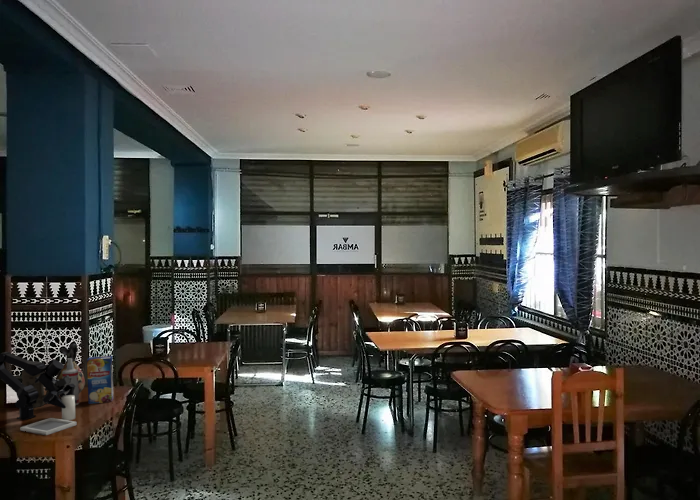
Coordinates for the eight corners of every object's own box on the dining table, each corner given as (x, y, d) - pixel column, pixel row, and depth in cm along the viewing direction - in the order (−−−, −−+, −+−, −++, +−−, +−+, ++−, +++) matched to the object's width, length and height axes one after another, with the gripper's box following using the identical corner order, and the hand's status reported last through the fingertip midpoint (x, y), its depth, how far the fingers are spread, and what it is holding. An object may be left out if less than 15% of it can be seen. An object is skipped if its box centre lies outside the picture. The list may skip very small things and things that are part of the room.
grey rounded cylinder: (59, 419, 291) (58, 397, 291) (69, 416, 297) (69, 394, 297) (67, 421, 289) (67, 398, 289) (78, 417, 294) (77, 395, 294)
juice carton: (88, 403, 320) (86, 359, 320) (90, 400, 327) (89, 357, 327) (111, 401, 323) (110, 358, 323) (113, 398, 330) (112, 355, 330)
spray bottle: (60, 405, 319) (59, 358, 318) (73, 401, 325) (72, 356, 325) (68, 407, 314) (67, 360, 314) (81, 403, 321) (80, 357, 320)
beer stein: (17, 409, 312) (19, 371, 312) (23, 404, 322) (24, 367, 322) (49, 408, 316) (51, 371, 316) (54, 403, 326) (55, 367, 327)
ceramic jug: (77, 400, 327) (75, 346, 327) (49, 401, 327) (48, 347, 327) (91, 393, 344) (89, 341, 344) (65, 393, 344) (63, 342, 344)
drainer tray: (20, 430, 275) (20, 427, 275) (51, 420, 290) (51, 417, 290) (46, 435, 267) (46, 431, 267) (76, 425, 282) (76, 421, 282)
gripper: (47, 375, 284) (69, 398, 282) (71, 367, 302) (92, 389, 301) (33, 391, 285) (55, 415, 284) (57, 382, 304) (78, 404, 302)
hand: (70, 405), depth 293 cm, fingers open, 9 cm apart
